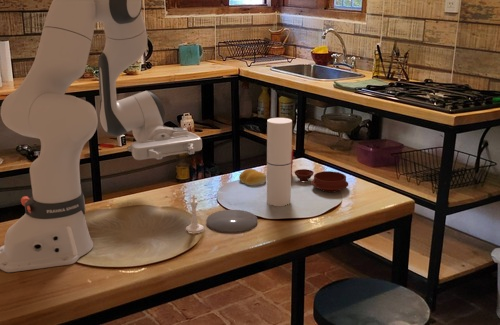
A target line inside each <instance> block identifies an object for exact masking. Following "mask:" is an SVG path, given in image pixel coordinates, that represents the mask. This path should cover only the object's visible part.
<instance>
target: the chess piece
mask: <svg viewBox="0 0 500 325" xmlns="http://www.w3.org/2000/svg"><path fill="white" fill-rule="evenodd" d="M190 199H191V201H190V202H189V205H190V206H191V209H190V210H189V212H190V213H191V216H192V217H191V223H190V224H189V225H187V226H186V227H185V231H186V230H187V231H188V232H192V233H198V234H201V233H203V232H204V231H205V228H204V227H205V226H204V225H202V224H200V223H198V217H197V213H198V212H199V209H198V208H197V206H198V201H197V200H198V197H196V195H195V194H192V196H190ZM200 232H201V233H200Z"/></svg>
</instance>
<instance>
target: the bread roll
mask: <svg viewBox="0 0 500 325" xmlns="http://www.w3.org/2000/svg"><path fill="white" fill-rule="evenodd" d="M239 180H240V182H241V183H243V184H245V185H247V184H248V185H247V186H261V185H264V184H265V183H267V175H266V174H265V173H263V172H262V171H261V172H260V171H258V170H256V169H253V168H247V169H245V170H243V171H242V172H241V173H240V174H239ZM263 183H264V184H263ZM260 184H261V185H260Z"/></svg>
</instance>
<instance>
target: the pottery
mask: <svg viewBox="0 0 500 325" xmlns="http://www.w3.org/2000/svg"><path fill="white" fill-rule="evenodd" d="M293 173H294V175H295V176H296V177H297V179H299V180H300V181H299V182H301V181H308V182H309V180H310V179H311V178H312V176H313V179H312V180H311V183H310V184H311V185H312V186H313V187H314V188H317V189H320V190H321V189H322V190H324V191H323V192H325V191H330V192H329V193H335V192H334V191H336V192H338V191H340V190H342V189H346V188H347V187H349V182H348V181H347V176H346V174H344V173H342V172H340V171H333V170H332V171H329V170H328V171H327V170H326V171H325V170H324V171H318V172H316V173H315V172H314V171H313V170H312V169H306V168H304V169H296V170H294V172H293ZM322 190H321V191H322Z"/></svg>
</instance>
